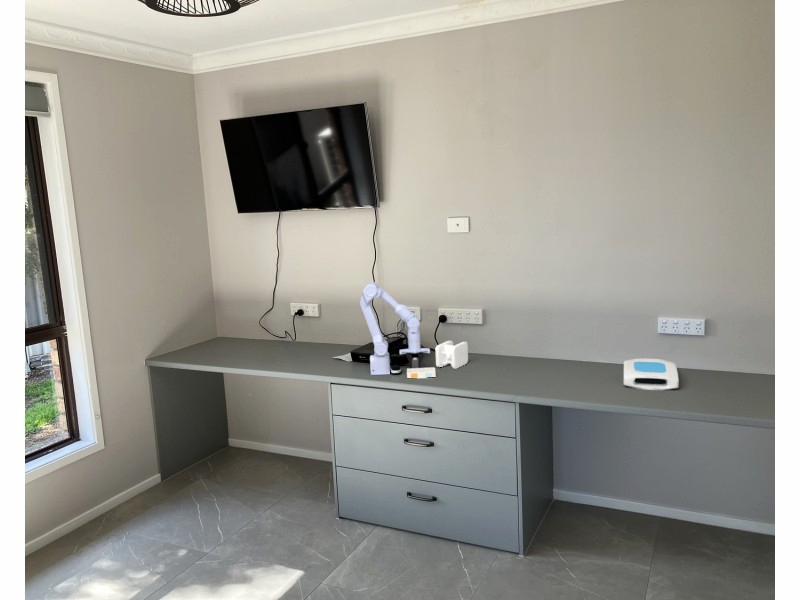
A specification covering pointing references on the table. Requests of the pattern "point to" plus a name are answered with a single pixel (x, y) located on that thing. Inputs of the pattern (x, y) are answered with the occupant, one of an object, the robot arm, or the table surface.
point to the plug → (415, 363)
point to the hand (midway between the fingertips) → (415, 367)
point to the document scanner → (650, 373)
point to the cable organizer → (451, 354)
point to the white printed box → (421, 372)
